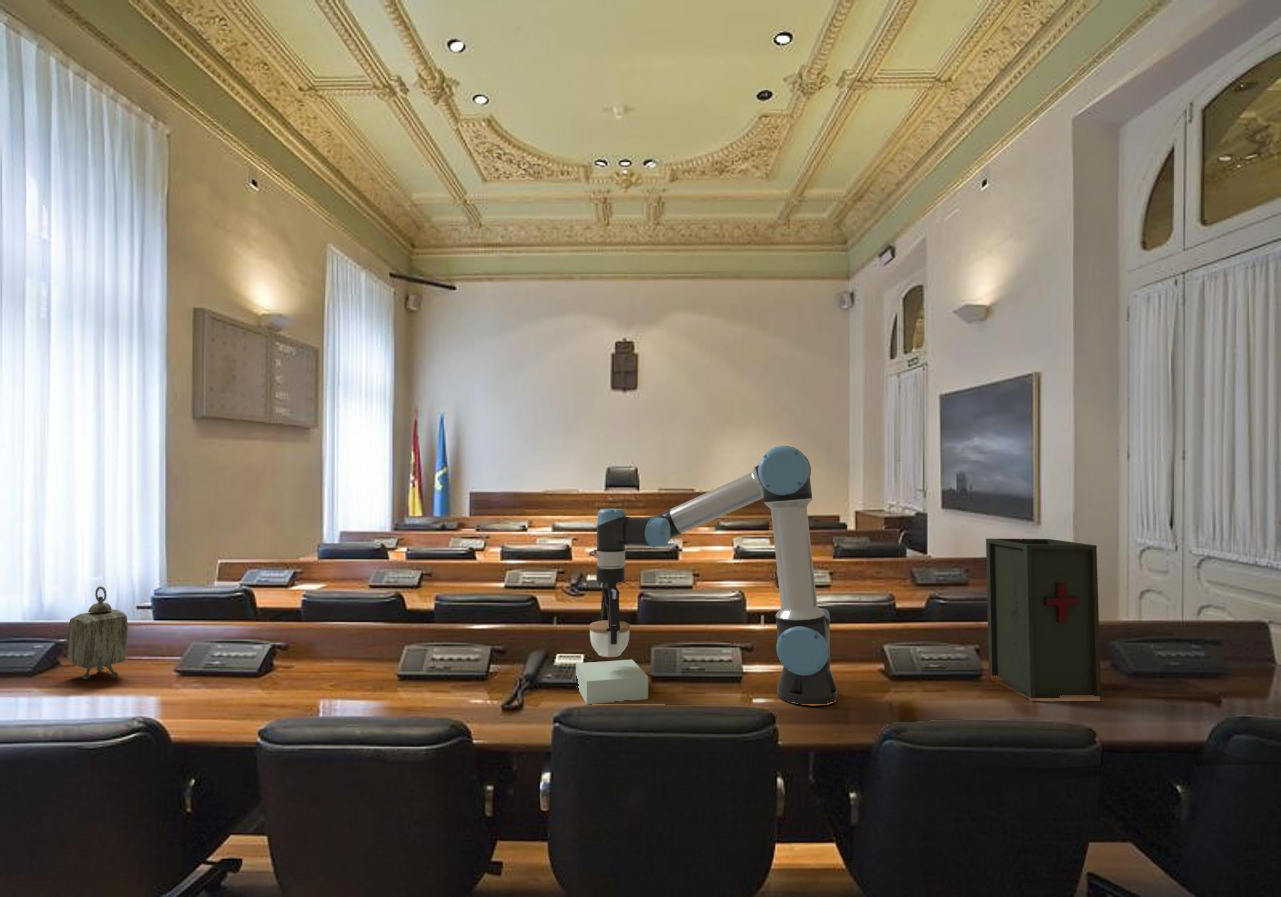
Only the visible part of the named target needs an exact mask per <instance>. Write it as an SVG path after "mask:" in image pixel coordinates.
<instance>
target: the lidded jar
mask: <svg viewBox="0 0 1281 897" xmlns="http://www.w3.org/2000/svg"><path fill="white" fill-rule="evenodd" d="M612 626H615V625H612ZM607 628H609V625H608V620H597V621H594V622H591V623H589V638H590V643H591V647H592V649H593V650H594V651H595V652H596V653H597V655H598V656H599V657H602V658H609V657H608V656H607V651H608V632H606V629H607ZM630 629H631V624H630V623H629V622H626V621H624V620H623V621H622V620H620V630H619V639H618V657H619V656H621V654H622V653H623V652H624V651H625V649H627V646H628V644H629V641H630Z"/></svg>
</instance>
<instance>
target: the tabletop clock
mask: <svg viewBox="0 0 1281 897" xmlns="http://www.w3.org/2000/svg"><path fill="white" fill-rule="evenodd" d="M100 590H102V593H103V594H104V595H103V596H98V592H99V591H100ZM94 593H95V599H96V601H97V602H96V603H93V604H92V605H91V606H90V607H89V608H88V612H83V613H79V614H77V615H76V616H73V617H72V618H70V620H69V624H68V634H67V660H68V662H69V663H70V664H71V665H73V666H76V667H79V668H83V669H86V672H85V673H84V674H82V679H83V680H88V679H90V677H91V674H90V671H91V669H94V668H96V671H97V672H98V673H99V672H102V671H104V668H106V669H108V670H109V672H110V673H111V675H110V677H111V678H112V679H116V678H118V677H119V672H118V671H114V669H113V667H112V665H115V664H120V663H123V662H125V660H126V656H127V647H128V616H127V615H126V613H125V612H124V611H121V610H120V609H113V608H112V606H111V605H110V604H109V602H106V599H107V589H106V588H105V587H104V586H101V585H100V586H98V587H97V588H96V589H95V592H94Z"/></svg>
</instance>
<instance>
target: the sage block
mask: <svg viewBox="0 0 1281 897" xmlns="http://www.w3.org/2000/svg"><path fill="white" fill-rule="evenodd" d="M576 676H577V679H578V684H579V686H578V688H579V690H578V691H579V693H580V695H581V696H582V699H583V700H584V702H585V704H586V705H596V704H597V705H598V704H606V703H615V702H614V701H619V702H625V701H624V700H631V701H641V700H648V699H649V676H648V674H646V672H644V670H643V669H642V668H641V667H640V666H639V665H638V664H637V663H636V662H635V661H634V660H633V659H620V660H619V659H618V660H607V661H594V662H577V663H575V677H576ZM578 688H577V689H578Z"/></svg>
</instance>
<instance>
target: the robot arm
mask: <svg viewBox="0 0 1281 897" xmlns="http://www.w3.org/2000/svg"><path fill="white" fill-rule="evenodd" d="M811 475H812V466H811V463H810V461H809V458H807V456H806V454H804V453H803V452H802V451H801V450H799V449H798V448H796V447H794V446H790V445H780V446H776V447H774V448H771V449H769V450H768V451H766V452H765V454H764V455H763V456H762V457H761V459H760V461H759V464H757V465H756V466H754V467H753V468H752V471H751V472H750V473H747V474H745V475H743V476H741V477H738V478H737V479H734V480H732V481H729V482H727V483H725V484H723V485H721V486H719V487H716V488H714V489H711V490H709V491H708V492H706V493H704V494H701V495H699V496H696V497H695V498H692V499H690V500H688V501H686V502H684V503H681V504H679V505H677V506H674V507H673V508H670V509H668V510H665V511H664V512H663V511H662V512H661V513H659V514H657V515H652V516H645V517H644V516H642V517H639V516H637V517H635V516H633V517H632V516H627V515H626V510H625V509H623V508H601V509H599V511H598V512H597V520H596V521H597V522H596V552H597V553H596V554H594V558H595V559H596V565H597V568H596V578H595V579H596V582H598V583H601V587H602V588H601V605H600V613H599V614H600V616H601V618H600V619H601V621H603V620H608V625H609V628H607V629H606V632H608V651H607V656H608V657H607V658H615V657H616V658H617V657H619V656H618V639H619V630H620V621H621V620H620V619H621V618H620V616H621V615H620V590H619V589H618V587H617V584H619V583H621V584H622V583H623V582H625V570H626V569H625V568H624V566H625V565H626V548H625V547H626V546H638V547H652V548H656V547H665V546H667V545H668V543H669V542H670V540H672V539H674V538H675V537H678V536H679V535H682V534H684V533H687V532H689V531H691V530H693V529H695V528H697V527H700V526H702V525H704V524H707V523H709V522H711V521H713V520H716V519H718V518H721V517H722V516H726V515H727V514H730V513H732V512H735V511H737V510H739V509H742V508H743V507H746V506H748V505H751V504H753V503H755V502H758V501H759V500H762V499H763V504H764V505H765V506H767V507H768V508H769V509H770V511H771V512H770V513H771V522H772V532H773V540H774V541H773V542H774V552H775V562H776V570H777V580H778V588H779V589H778V590H779V592H778V593H779V599H780V600H779V601H780V608H779V610H778V611H777V612H776V614H775V622H776V635H777V641H776V645H775V650H776V651H775V652H776V655H777V657H778V659H779V660H778V661H779V662H780V664H781V665H782V670H781V673H780V676H779V679H778V682H777V686H776V688H777V689H776V691H777V692H776V694H777V697H778V696H779V697H780V698H782V699H783V700H782V699H781V700H782V701H784V700H786V701H789V702H795V703H798V704H827V703H830V702H834V701H835V700H837V701H838V690H837V689H838V688H837V686H836V683H835V679H834V678H833V673H832V671H831V648H830V647H831V646H830V645H831V641H830V639H831V635H830V634H831V632H830V630H831V629H830V628H831V627H830V625H831V618H830V612H829V611H828V609H825V608H820V607H819V606H818V599H817V590H816V580H815V570H814V563H813V562H814V561H813V552H812V545H811V542H812V541H811V535H810V524H809V517H808V506H809V504H810V503H811V501H812V500H813V494H812V485H811V483H812V482H811ZM612 625H615V626H612ZM779 697H778V698H779ZM780 698H779V699H780ZM786 701H785V702H786ZM789 702H788V703H789Z"/></svg>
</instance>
